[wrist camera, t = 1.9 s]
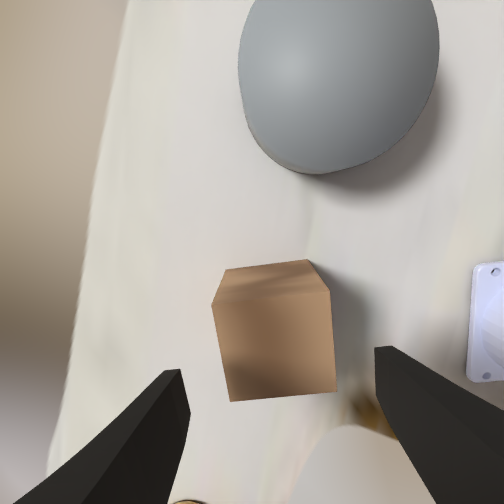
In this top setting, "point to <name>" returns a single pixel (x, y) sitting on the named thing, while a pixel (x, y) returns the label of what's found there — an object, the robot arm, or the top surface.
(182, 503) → the sprinkles bottle
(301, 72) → the grey rounded dome
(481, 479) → the robot arm
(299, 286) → the walnut block
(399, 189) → the top surface
